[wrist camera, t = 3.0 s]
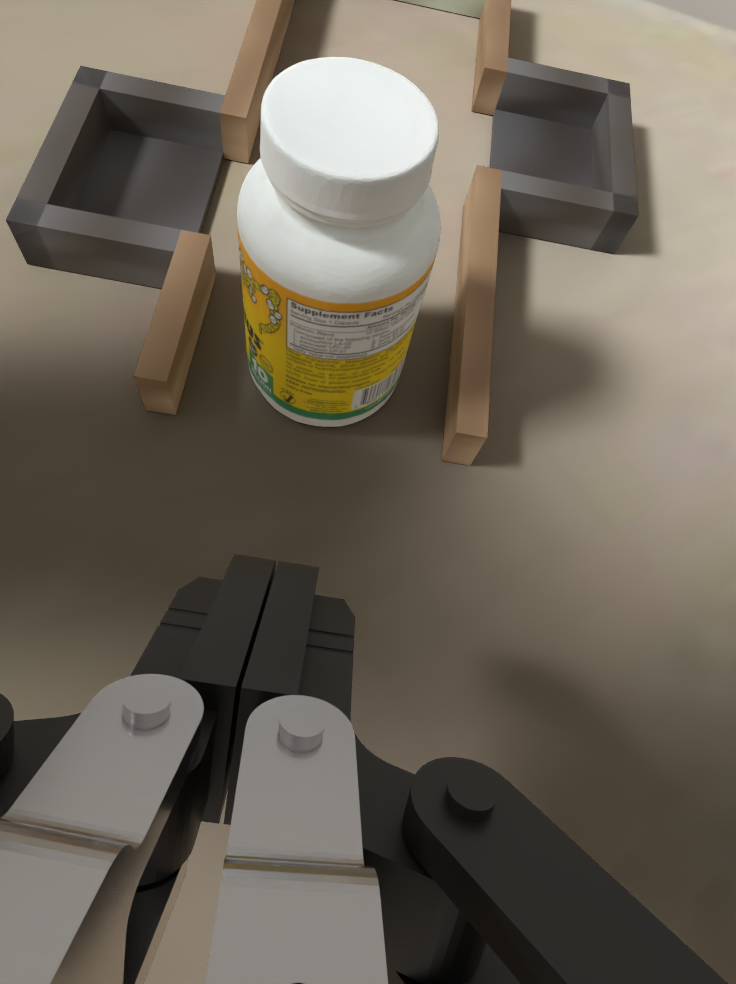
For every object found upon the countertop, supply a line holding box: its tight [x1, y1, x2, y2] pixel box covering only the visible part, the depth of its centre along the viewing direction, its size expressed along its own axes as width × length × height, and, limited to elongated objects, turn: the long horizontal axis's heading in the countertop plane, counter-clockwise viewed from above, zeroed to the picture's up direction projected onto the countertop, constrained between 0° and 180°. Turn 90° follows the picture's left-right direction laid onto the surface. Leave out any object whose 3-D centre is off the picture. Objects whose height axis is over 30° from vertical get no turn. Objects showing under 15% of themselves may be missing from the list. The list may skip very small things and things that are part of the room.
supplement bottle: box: [237, 57, 441, 427], centre depth 19 cm, size 5×5×10 cm
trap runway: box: [6, 0, 638, 465], centre depth 26 cm, size 22×26×2 cm
